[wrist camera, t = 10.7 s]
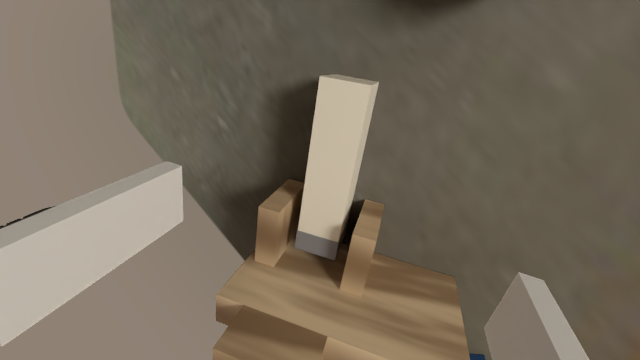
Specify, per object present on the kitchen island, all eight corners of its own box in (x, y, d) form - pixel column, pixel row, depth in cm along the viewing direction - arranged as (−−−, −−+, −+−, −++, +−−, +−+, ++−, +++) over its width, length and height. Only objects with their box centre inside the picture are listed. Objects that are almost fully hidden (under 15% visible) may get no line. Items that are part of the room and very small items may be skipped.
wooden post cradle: (282, 177, 32) (177, 266, 18) (475, 228, 28) (539, 399, 14) (275, 244, 36) (182, 363, 21) (445, 298, 32) (470, 491, 17)
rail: (334, 74, 27) (318, 75, 22) (379, 82, 26) (372, 85, 21) (311, 222, 33) (294, 247, 29) (345, 233, 32) (334, 260, 28)
